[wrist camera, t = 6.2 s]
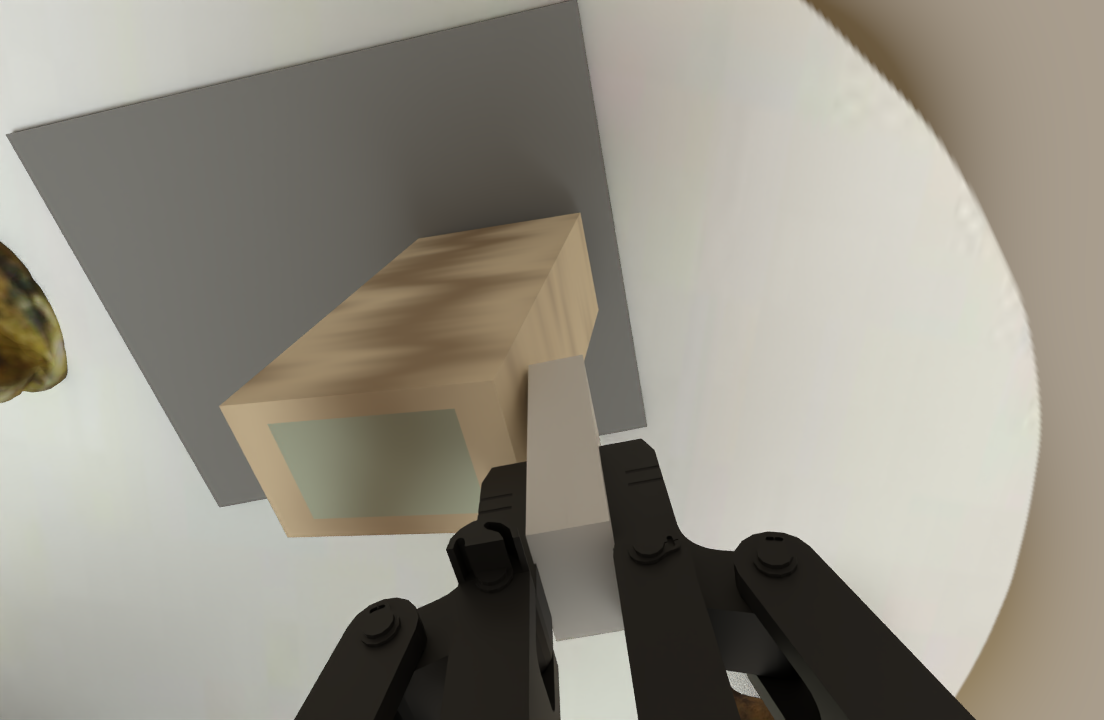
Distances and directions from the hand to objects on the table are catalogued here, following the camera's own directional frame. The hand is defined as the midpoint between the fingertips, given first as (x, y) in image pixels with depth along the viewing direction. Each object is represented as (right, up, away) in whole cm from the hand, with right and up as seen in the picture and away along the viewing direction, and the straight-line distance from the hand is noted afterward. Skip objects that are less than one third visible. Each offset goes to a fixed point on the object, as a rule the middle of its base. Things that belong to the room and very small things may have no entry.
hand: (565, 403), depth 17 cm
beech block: (-2, +5, +11) cm, 12 cm away
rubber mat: (-9, +4, +12) cm, 16 cm away
